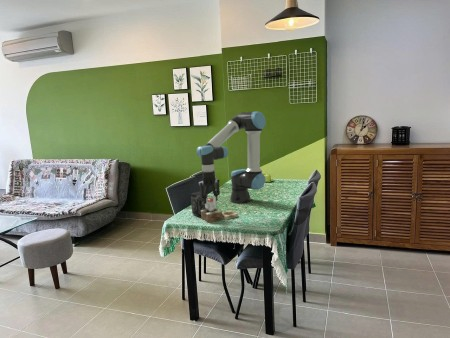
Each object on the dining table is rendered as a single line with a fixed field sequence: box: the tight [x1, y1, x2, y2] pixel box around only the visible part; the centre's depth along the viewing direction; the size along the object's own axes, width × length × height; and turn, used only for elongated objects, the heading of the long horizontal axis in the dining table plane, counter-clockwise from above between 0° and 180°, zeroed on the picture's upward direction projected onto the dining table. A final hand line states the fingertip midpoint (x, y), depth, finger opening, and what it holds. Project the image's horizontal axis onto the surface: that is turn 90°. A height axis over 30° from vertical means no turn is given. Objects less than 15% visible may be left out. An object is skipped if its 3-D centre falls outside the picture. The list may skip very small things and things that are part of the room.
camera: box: [190, 190, 209, 217], centre depth 222 cm, size 10×10×15 cm
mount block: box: [222, 209, 239, 220], centre depth 217 cm, size 9×9×2 cm
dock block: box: [200, 207, 223, 224], centre depth 213 cm, size 10×10×6 cm
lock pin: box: [208, 197, 214, 212], centre depth 213 cm, size 4×4×13 cm
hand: (210, 207), depth 212 cm, fingers open, 5 cm apart
